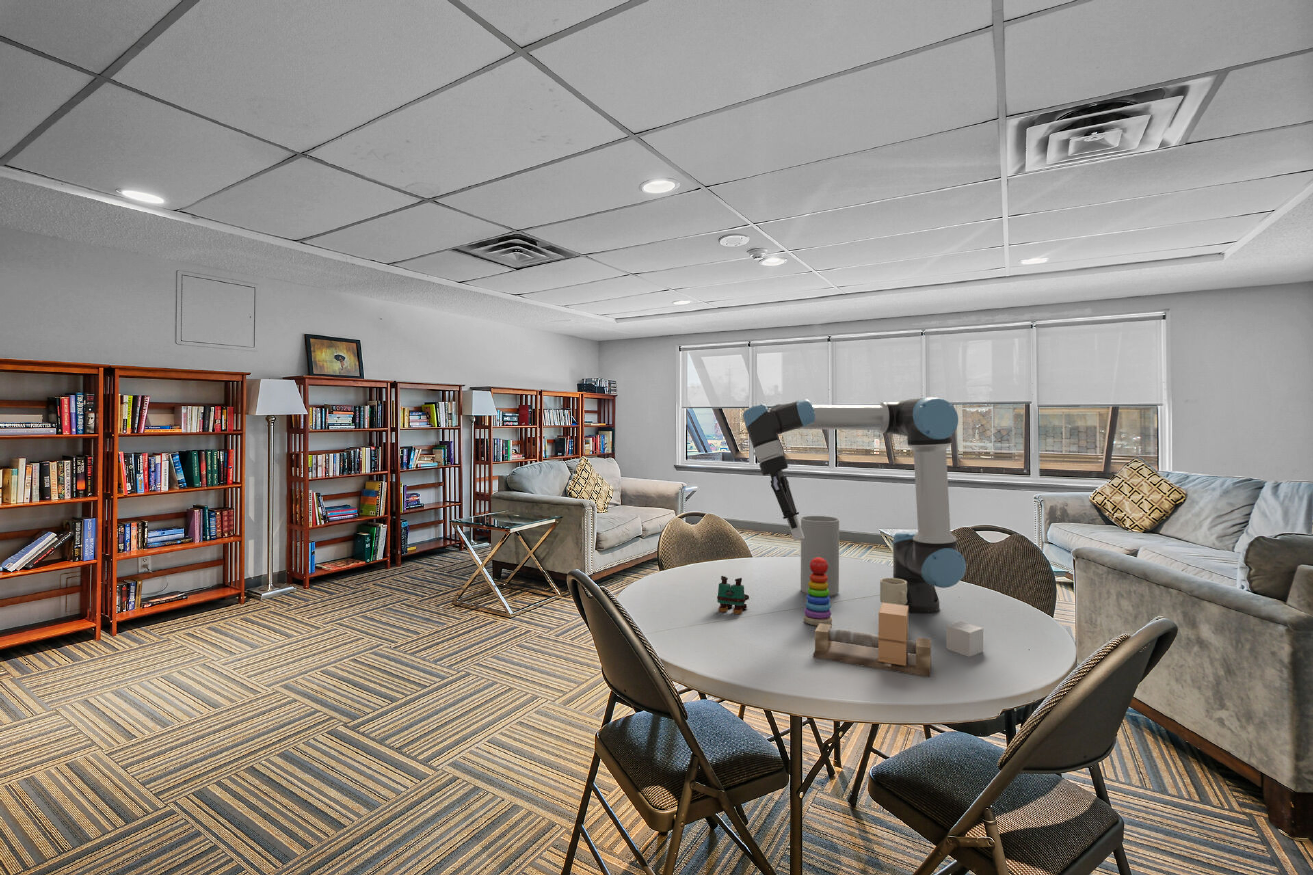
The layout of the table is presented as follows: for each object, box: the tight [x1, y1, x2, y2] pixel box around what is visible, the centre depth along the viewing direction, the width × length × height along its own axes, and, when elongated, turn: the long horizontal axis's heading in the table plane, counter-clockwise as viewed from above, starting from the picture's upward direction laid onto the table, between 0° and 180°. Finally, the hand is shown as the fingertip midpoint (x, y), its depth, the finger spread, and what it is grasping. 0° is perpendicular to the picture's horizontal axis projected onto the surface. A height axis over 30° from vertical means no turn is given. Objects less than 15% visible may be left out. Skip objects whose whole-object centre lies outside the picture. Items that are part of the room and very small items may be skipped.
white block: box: [946, 621, 984, 657], centre depth 150 cm, size 6×6×6 cm
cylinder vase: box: [800, 515, 840, 597], centre depth 201 cm, size 12×12×25 cm
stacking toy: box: [803, 557, 833, 627], centre depth 171 cm, size 8×8×19 cm
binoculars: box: [716, 575, 750, 615], centre depth 183 cm, size 9×11×10 cm
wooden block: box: [877, 603, 909, 666], centre depth 142 cm, size 6×8×12 cm
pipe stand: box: [812, 623, 932, 678], centre depth 144 cm, size 26×10×6 cm, turn 64°
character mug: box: [879, 577, 907, 605], centre depth 167 cm, size 11×7×13 cm, turn 11°
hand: (799, 539), depth 164 cm, fingers closed
